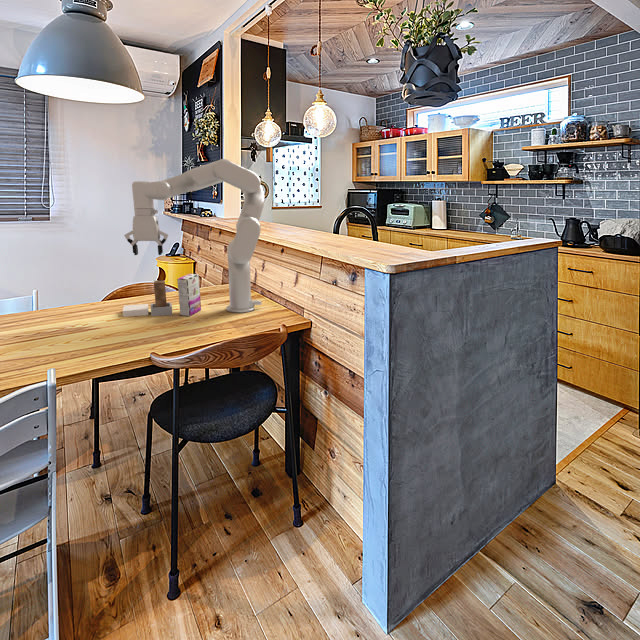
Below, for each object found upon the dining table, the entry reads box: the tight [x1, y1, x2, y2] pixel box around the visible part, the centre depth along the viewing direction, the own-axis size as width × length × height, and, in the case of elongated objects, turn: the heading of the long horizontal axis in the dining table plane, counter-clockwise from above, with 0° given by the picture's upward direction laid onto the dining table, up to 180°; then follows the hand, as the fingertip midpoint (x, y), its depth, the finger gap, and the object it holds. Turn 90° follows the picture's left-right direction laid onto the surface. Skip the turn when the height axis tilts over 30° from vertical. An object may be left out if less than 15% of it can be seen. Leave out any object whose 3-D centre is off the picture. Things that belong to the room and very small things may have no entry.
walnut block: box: [153, 280, 168, 308], centre depth 202 cm, size 4×4×14 cm
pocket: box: [150, 301, 173, 317], centre depth 203 cm, size 9×9×4 cm
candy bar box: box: [176, 273, 202, 317], centre depth 203 cm, size 11×5×16 cm, turn 168°
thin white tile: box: [122, 303, 149, 318], centre depth 203 cm, size 10×10×2 cm
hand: (148, 254), depth 195 cm, fingers open, 9 cm apart
